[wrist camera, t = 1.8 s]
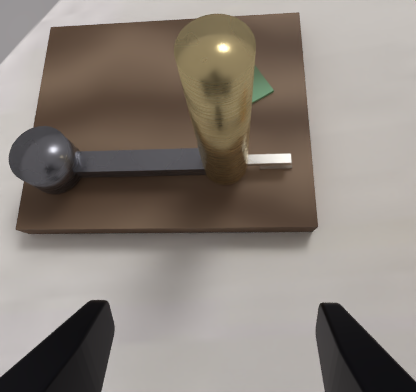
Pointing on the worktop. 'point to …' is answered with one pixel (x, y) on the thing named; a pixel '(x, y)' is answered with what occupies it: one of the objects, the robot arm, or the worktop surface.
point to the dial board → (170, 133)
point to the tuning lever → (199, 113)
